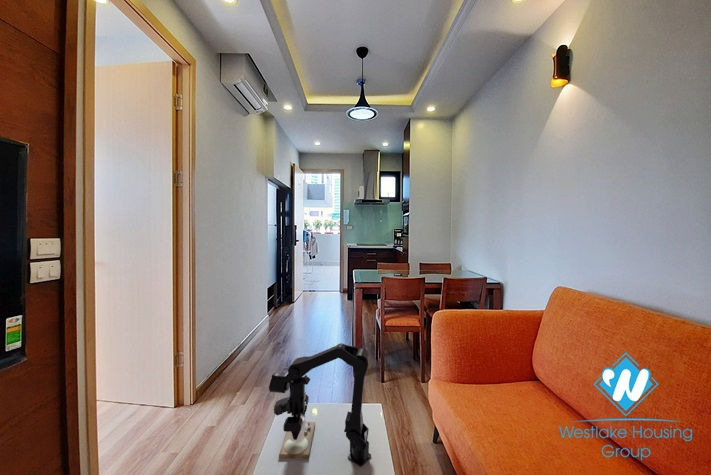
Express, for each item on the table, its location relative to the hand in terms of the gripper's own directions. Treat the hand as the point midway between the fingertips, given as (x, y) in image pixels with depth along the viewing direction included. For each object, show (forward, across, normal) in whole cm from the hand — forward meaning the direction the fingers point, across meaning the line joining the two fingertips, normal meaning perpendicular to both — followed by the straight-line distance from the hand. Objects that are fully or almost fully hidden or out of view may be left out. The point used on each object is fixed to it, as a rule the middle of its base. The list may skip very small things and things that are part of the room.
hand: (296, 433), depth 110 cm
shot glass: (+1, 0, 0) cm, 1 cm away
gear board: (+6, -4, 0) cm, 8 cm away
